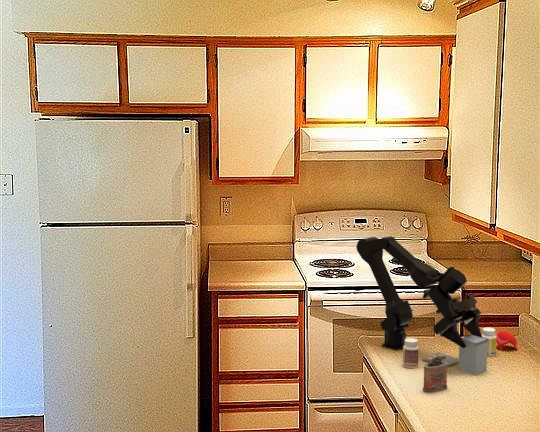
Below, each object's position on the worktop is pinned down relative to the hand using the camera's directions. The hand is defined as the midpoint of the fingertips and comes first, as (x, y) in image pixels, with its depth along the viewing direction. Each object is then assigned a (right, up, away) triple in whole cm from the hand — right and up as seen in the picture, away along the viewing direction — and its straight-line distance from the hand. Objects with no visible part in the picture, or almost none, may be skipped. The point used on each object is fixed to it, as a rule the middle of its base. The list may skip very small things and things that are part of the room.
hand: (473, 344), depth 215 cm
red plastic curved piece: (+17, -6, +21) cm, 27 cm away
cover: (0, -8, +1) cm, 8 cm away
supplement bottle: (+9, -6, +16) cm, 19 cm away
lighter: (-15, -11, -13) cm, 23 cm away
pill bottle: (-18, -8, +5) cm, 21 cm away
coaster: (-7, -7, +9) cm, 14 cm away
